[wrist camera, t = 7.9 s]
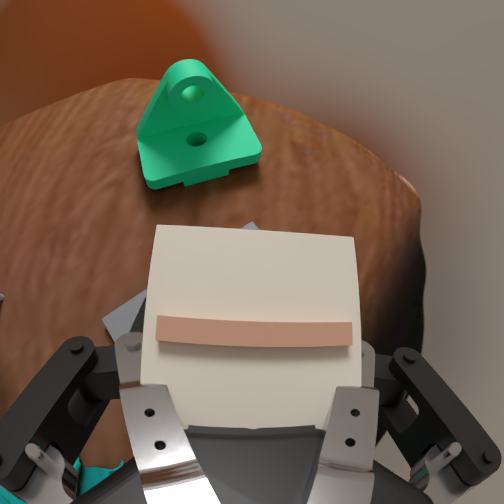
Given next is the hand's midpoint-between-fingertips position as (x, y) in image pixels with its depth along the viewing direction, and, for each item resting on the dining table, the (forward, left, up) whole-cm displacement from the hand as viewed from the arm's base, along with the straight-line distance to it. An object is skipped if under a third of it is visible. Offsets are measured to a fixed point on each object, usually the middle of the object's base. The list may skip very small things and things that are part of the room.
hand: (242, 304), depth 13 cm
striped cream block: (+1, -1, -4) cm, 5 cm away
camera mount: (-17, +7, -12) cm, 22 cm away
